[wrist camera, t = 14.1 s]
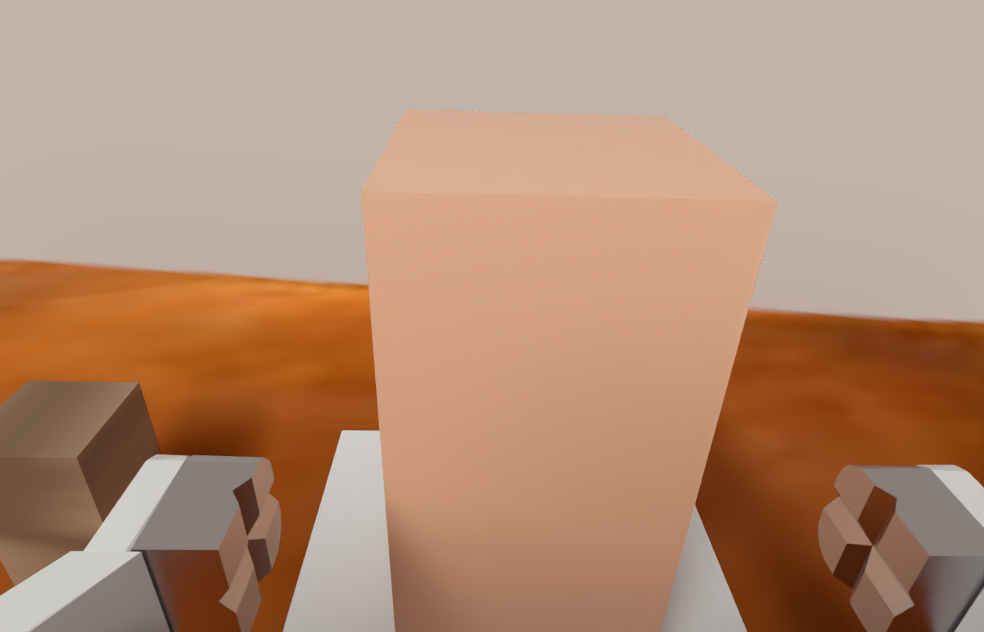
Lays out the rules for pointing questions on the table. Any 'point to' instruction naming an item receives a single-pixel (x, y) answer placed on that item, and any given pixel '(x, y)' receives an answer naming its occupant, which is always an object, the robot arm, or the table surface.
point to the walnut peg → (66, 466)
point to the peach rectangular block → (550, 360)
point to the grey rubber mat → (366, 565)
